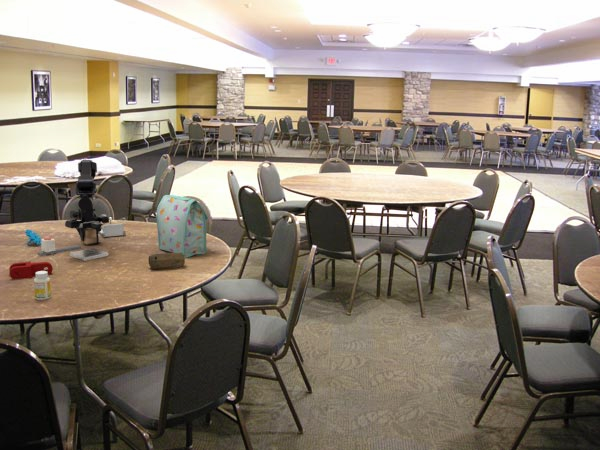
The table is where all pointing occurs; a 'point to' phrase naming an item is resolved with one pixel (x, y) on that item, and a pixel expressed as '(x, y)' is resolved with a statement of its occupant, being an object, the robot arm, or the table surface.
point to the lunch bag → (181, 226)
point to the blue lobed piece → (33, 237)
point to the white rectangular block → (47, 244)
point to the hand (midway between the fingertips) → (88, 240)
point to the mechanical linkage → (28, 269)
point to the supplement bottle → (42, 286)
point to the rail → (59, 250)
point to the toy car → (112, 229)
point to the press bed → (88, 254)
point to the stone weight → (166, 260)
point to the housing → (89, 236)
